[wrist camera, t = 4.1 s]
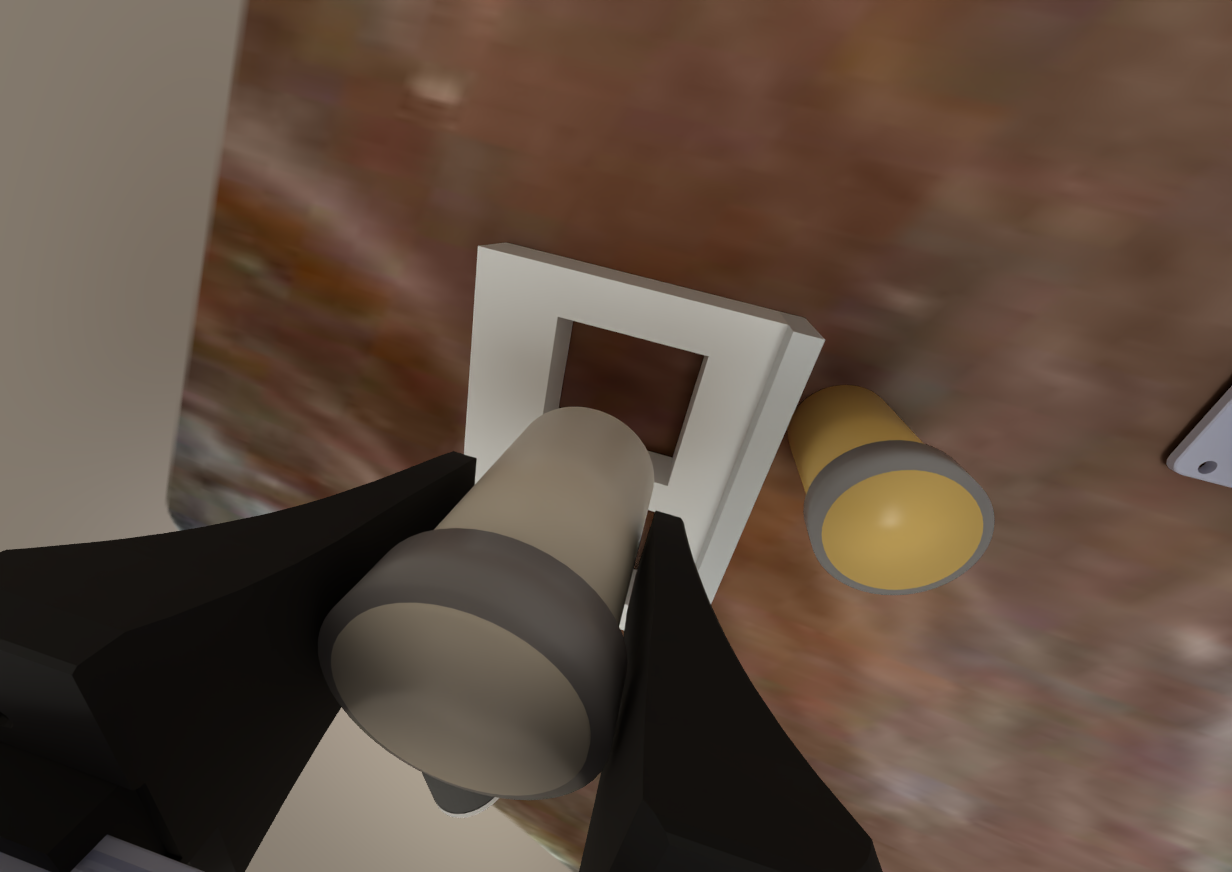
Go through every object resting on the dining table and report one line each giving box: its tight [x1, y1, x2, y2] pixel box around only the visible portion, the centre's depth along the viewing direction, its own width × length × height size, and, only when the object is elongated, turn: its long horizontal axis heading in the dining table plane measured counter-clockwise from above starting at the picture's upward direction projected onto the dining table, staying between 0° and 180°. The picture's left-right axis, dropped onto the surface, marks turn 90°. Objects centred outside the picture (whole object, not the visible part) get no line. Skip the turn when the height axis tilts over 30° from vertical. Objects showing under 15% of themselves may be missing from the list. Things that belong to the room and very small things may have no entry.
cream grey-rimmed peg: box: [318, 407, 654, 800], centre depth 10 cm, size 5×5×7 cm
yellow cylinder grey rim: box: [788, 385, 995, 595], centre depth 16 cm, size 5×5×7 cm
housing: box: [464, 242, 825, 630], centre depth 20 cm, size 12×16×4 cm
